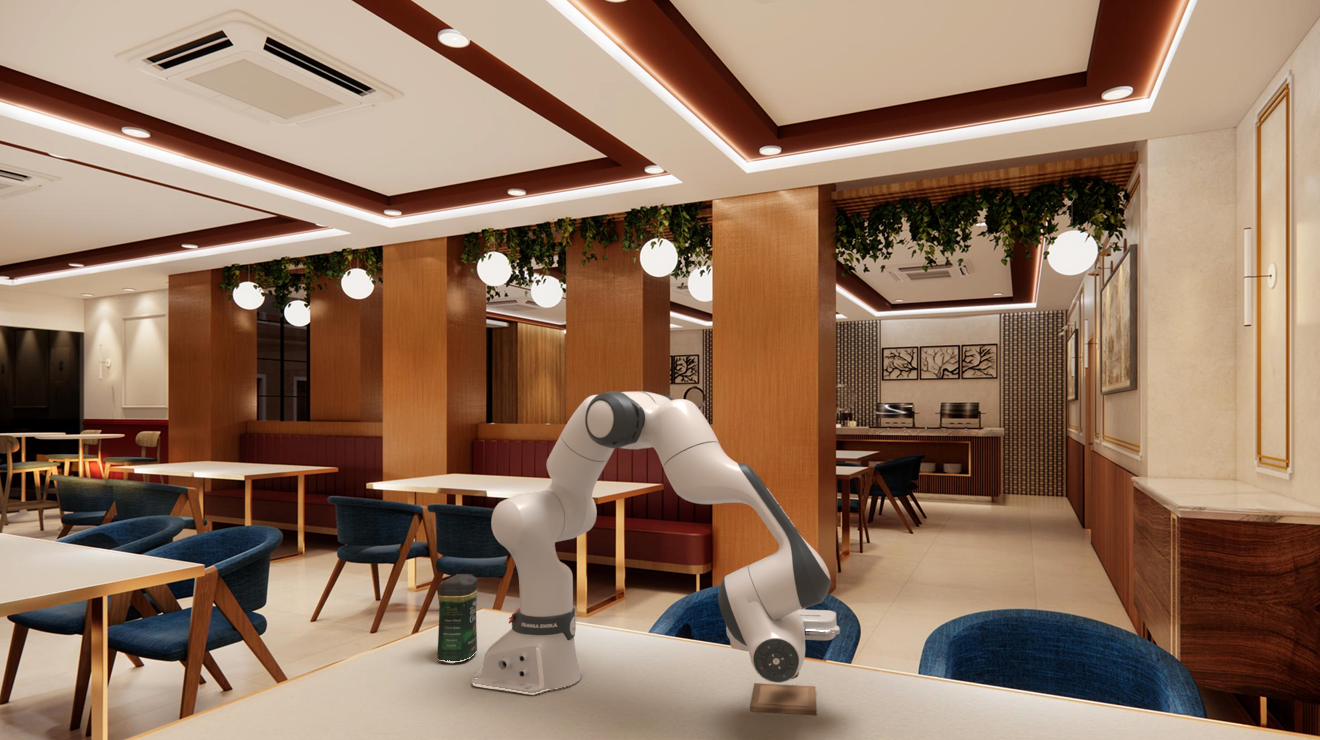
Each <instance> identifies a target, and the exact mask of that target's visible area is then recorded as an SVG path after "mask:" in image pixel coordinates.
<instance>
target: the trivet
mask: <svg viewBox="0 0 1320 740" xmlns="http://www.w3.org/2000/svg"><path fill="white" fill-rule="evenodd" d="M749 711H750V712H763V713H780V714H781V713H782V714H793V715H794V714H796V715H797V714H799V715H810V716H811V715H812V716H818V714H817V712H818V711H817V694H816V685H815V686H814V685H797V684H796V685H793V684H780V683H779V684H777V683H763V682H762V683H760V682H759V683H758V682H757V683H756V682H754V684H753V688H752V693H751V698H750V704H749Z"/></svg>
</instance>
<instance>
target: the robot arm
mask: <svg viewBox="0 0 1320 740" xmlns="http://www.w3.org/2000/svg"><path fill="white" fill-rule="evenodd" d="M650 448H653V449H654V450H655V451H656V454H657V455H658V458H659V461H660V463H661V465H662V468H663V471H664V473H665V475H666V477H667V479H668V481H669V483H670V485H671V487H672V488H673V490H674V492H675V493H676V495H678V496H679V497H681V499H683V500H684V501H688V502H690V503H694V504H699V505H718V504H729V503H734V504H735V503H739V504H746V505H748V506H750V507H751V508H753V509H754V511H755V512H756V513H757V515H758V516H759V518H760V519H761V520H762V522H763V523H764V524H765V526H766V528H767V529H768V530H769V532H770V533H771V534H772V537H773V538H774V539H775V540H776V542H777V543H778V546H779V547H778V550H777V551H775V552H774V553H772V554H770V555H768V556H766V557H763V558H762V559H760V560H757V561H754V562H753V563H751V564H747V565H745V566H743V567H741V568H739V569H737V570H735V571H733V572H730V573H729V574H727V575H724V576H723V578H722V580H721V582H720V585H719V589H718V596H717V598H718V605H719V610H720V613H721V616H722V619H723V621H724V623H725V626H726V628H725V629H726V635H727V637H728V639H729V642H730V647H731V648H732V649H734V650H740V651H746V652H748V653H749V659H750V661H751V664H752V667H753V669H754V670H755V672H756V673H757V674H758V675H759V676H760V677H761V678H762V679H764V680H765V681H768V682H771V683H774V684H777V683H779V684H780V683H784V682H788V681H791V680H793V679H792V678H793V677H794V676H795V675H796V674H797V673H798V672H799V673H800V670H801V669H802V667H803V665H804V662H805V657H806V640H808V641H830V640H833V639H834V638H836V635H839V634H841V633H840V632H841V628H840V626H838V625H837V613H836V611H834V610H829V609H828V610H825V609H821V610H820V609H807V608H810V607H813V606H817V605H818V604H821V603H823V602H824V600H826V599H825V598H826V597H827V594H829V590H830V587H831V584H832V580H831V575H830V572H829V569H828V567H827V565H826V563H825V561H824V559H823V558H822V557H821V555H820V554H819V553H818V552H817V550H815V548H813V547H812V546H811V544H810V543H808V541H806V540H805V538H804V537H803V535H802V534H801V532H799V529H797V527H796V526H795V524H794V523H793V521H792V520H791V518H790V517H789V516H788V515H787V512H785V511H784V509H783V507H782V506H781V505H780V503H779V502H778V501H777V499H776V498H775V496H774V495H773V494H772V492H771V491H770V489H769V488H768V487H767V486H766V484H765V483H764V481H763V480H762V479H761V477H760V476H759V475H758V474H757V473H756V471H755V470H754V469H753V468H752V467H751V466H749V464H747V463H745V462H736V461H734V460H733V459H732V458H731V457H729V456H728V455H727V454H726V452H725V451H724V449H723V448H722V446H721V444H720V441H719V440H718V438H717V436H716V434H715V432H714V430H713V429H712V427H711V425H710V423H709V421H708V419H706V417H705V415H704V414H703V412H702V411H701V410H700V409H699V407H698V406H697V405H696V404H695V403H694V402H693V401H691V400H689V399H683V398H678V399H676V398H674V397H672V396H670V395H667V394H663V393H654V392H650V391H641V390H635V391H618V390H612V391H606V392H603V393H599V394H592V395H589V396H587V398H585V399H584V400H583V401H582V402H581V403H580V405H578V407H577V409H575V411H574V412H573V414H572V415H571V416H570V418H569V420H568V421H567V423H566V424H565V426H564V428H563V430H562V432H561V433H560V435H559V437H558V439H557V441H556V442H555V445H554V446H553V447H552V450H551V452H550V453H549V456H548V457H547V459H546V470H547V473H548V476H549V477H550V480H552V481H551V483H550V485H549V486H548V487H547V488H545V490H541V491H534V492H527V493H526V492H525V493H519V494H516V495H513V496H510V497H509V498H506V499H503V500H502V501H500V502H498V503H497V505H496V506H495V507H494V509H493V512H492V514H491V520H490V521H491V522H490V523H491V531H492V534H493V536H494V537H495V539H496V540H497V542H498V543H499V544H500V545H501V546H503V548H505V549H506V550H507V551H508V552H509V553H510V554H509V555H511V557H512V559H513V561H514V563H515V566H516V567H515V568H516V571H517V574H518V575H517V576H518V581H519V582H518V584H519V585H518V586H519V607H518V608H516V609H515V610H516V611H515V612H514V613H512V614H511V616H510V617H509V618H508V624H511V629H509V630H508V631H507V632H506V633H505V634H503V635H502V636H501V637H500V638H498V639H497V640H496V641H495V642H494V643H493V644H491V646H489V648H488V649H487V650H486V652H485V655H484V658H483V664H482V667H481V668H480V669H479V670H477V671H476V672H475V673H474V674H473V676H472V677H471V682H472V683H475V684H481V685H486V686H492V687H499V688H505V689H511V690H516V691H522V692H528V693H536V692H540V691H542V690H546V689H555V688H561V687H564V688H567V687H566V686H568V687H570V686H573V685H574V684H576V683H578V682H579V681H580V680H581V678H582V673H581V670H580V666H579V663H578V662H579V661H578V657H577V652H576V643H575V642H576V641H575V637H576V630H577V629H576V628H577V627H576V626H577V621H576V620H577V619H576V610H575V609H576V608H575V607H574V593H573V592H574V589H573V588H574V587H573V586H574V585H573V583H574V580H573V572H572V570H571V568H570V567H569V566H568V565H566V564H565V563H563V562H562V561H560V559H559V557H558V555H557V551H556V546H555V545H556V543H558V542H562V541H567V540H573V539H575V538H577V537H580V536H582V535H583V534H585V533H587V532H589V531H590V530H592V528H593V527H594V525H595V524H596V522H597V513H598V512H597V511H598V510H597V506H596V505H597V504H596V502H595V499H594V498H593V491H594V489H595V485H596V484H597V482H598V479H599V478H600V476H601V474H602V472H603V471H604V468H605V467H606V465H607V464H608V462H609V459H610V458H611V456H612V454H613V452H614V451H615V449H627V450H641V449H650ZM475 678H478V679H475ZM572 684H573V685H572ZM569 685H570V686H569ZM561 689H562V688H561Z"/></svg>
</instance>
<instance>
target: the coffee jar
mask: <svg viewBox="0 0 1320 740" xmlns="http://www.w3.org/2000/svg"><path fill="white" fill-rule="evenodd" d="M477 598H478V579H477V578H476V576H474V575H473V574H472V573H471V574H470V573H456V574H455V575H454V576H453V575H452V576H451V577H449V578H447V579H446V580H443V581H441V582H440V583H439V584H438V613H439V614H438V635H437V637H438V638H437V652H436V653H437V655H436V656H437V657H436V659H437V658H438V659H439V660H445V661H447V660H448V661H449V660H450V661H460V660H464V659H467V658H469V657H471V656H472V655H473V654H474V653H475V652H476V651H477V652H478V634H477V600H478V599H477ZM477 652H476V653H477ZM438 659H437V660H438Z"/></svg>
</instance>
